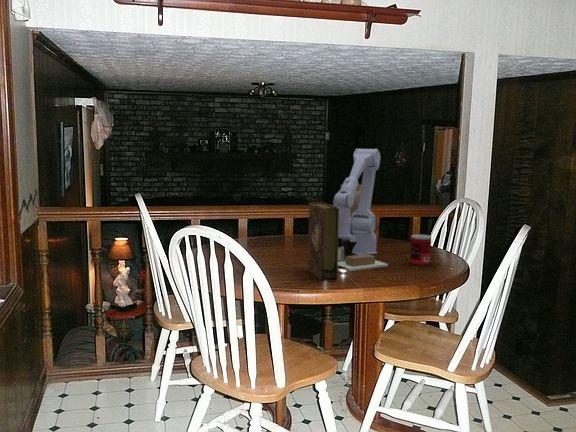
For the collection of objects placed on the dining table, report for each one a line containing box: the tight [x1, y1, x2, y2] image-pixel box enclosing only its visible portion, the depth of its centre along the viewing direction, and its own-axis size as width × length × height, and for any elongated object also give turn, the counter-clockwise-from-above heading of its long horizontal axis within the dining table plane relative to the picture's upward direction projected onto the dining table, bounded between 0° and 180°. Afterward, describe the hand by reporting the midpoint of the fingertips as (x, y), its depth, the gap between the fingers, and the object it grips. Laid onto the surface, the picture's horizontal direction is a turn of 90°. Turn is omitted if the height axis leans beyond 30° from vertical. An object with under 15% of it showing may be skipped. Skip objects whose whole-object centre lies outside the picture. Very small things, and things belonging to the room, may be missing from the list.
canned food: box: [409, 234, 432, 267], centre depth 215 cm, size 8×8×11 cm
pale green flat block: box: [338, 254, 389, 272], centre depth 211 cm, size 18×12×4 cm, turn 119°
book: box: [307, 201, 339, 281], centre depth 194 cm, size 16×6×25 cm, turn 17°
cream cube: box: [338, 246, 346, 262], centre depth 220 cm, size 5×5×5 cm
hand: (342, 256), depth 220 cm, fingers open, 7 cm apart
